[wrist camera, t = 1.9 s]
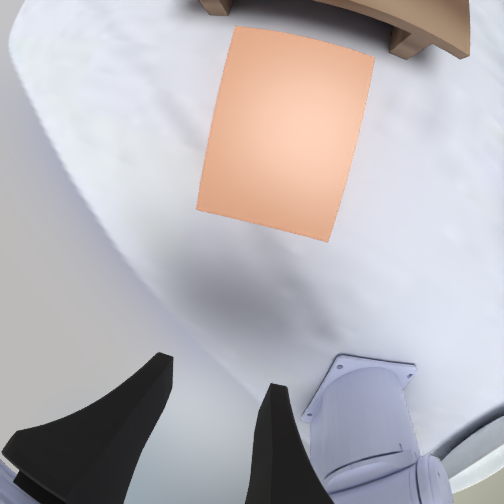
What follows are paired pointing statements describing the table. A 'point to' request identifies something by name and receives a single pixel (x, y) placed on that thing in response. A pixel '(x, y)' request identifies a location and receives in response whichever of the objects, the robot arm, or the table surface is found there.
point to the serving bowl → (476, 456)
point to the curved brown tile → (404, 22)
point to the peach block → (284, 131)
